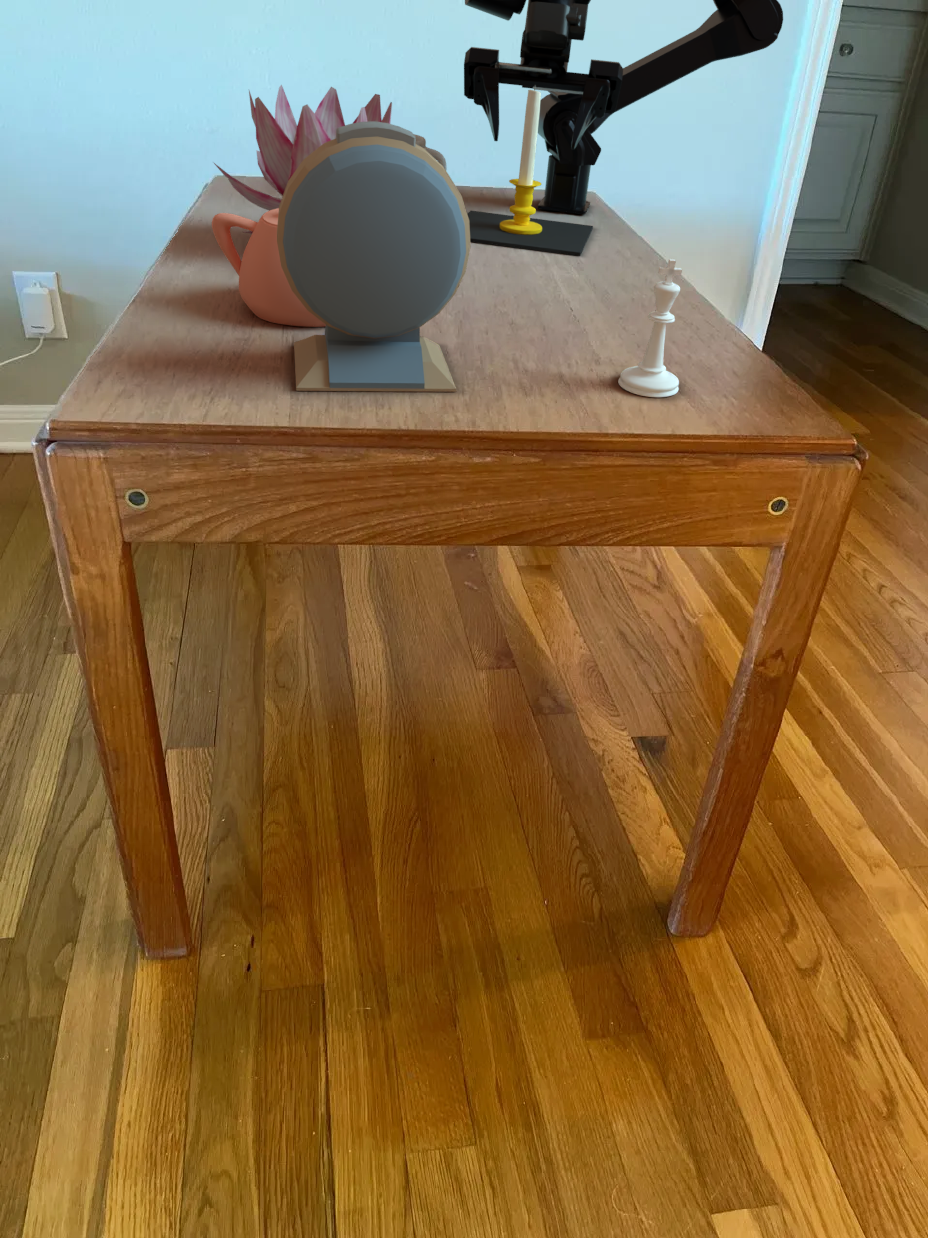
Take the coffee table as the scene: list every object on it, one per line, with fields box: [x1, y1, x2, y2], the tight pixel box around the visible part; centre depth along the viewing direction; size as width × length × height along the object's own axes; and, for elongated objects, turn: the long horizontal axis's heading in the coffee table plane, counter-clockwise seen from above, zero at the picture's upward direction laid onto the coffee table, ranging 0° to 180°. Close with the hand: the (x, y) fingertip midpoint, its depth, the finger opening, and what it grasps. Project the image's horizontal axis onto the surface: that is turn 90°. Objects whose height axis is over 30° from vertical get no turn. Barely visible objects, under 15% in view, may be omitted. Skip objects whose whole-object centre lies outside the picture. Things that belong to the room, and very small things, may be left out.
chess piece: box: [617, 258, 683, 398], centre depth 75 cm, size 5×5×10 cm
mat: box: [467, 210, 594, 257], centre depth 116 cm, size 14×16×1 cm
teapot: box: [211, 208, 326, 328], centre depth 85 cm, size 12×18×10 cm
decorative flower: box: [212, 84, 393, 235], centre depth 99 cm, size 21×21×15 cm
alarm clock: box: [277, 121, 472, 393], centre depth 71 cm, size 14×10×18 cm
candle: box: [500, 85, 542, 235], centre depth 112 cm, size 5×5×16 cm
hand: (534, 142), depth 112 cm, fingers open, 9 cm apart
